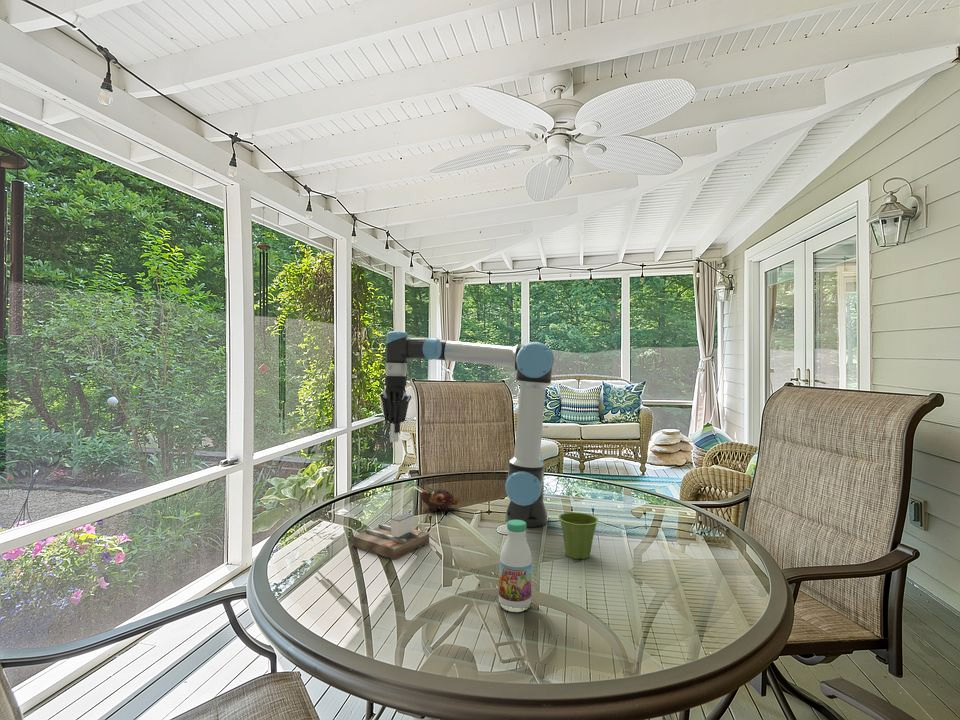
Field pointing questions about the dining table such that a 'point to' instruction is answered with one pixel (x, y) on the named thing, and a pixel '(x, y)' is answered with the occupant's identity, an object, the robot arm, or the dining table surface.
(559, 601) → the dining table surface
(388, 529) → the fader console
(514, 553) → the milk bottle
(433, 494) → the decorative turtle
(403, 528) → the fader knob
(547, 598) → the dining table surface
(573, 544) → the plant pot
